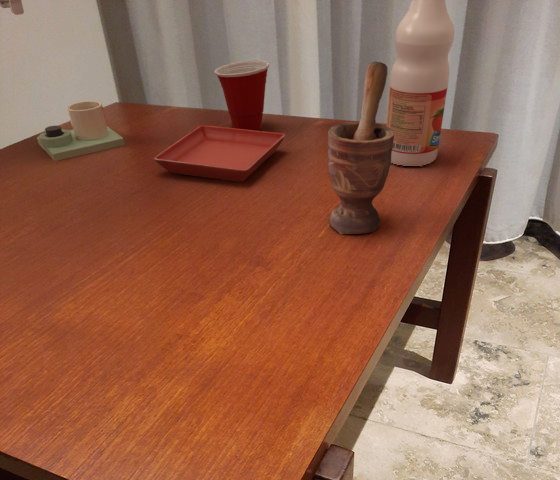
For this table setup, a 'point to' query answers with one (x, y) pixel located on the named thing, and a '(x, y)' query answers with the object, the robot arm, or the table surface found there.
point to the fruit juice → (419, 82)
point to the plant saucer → (220, 152)
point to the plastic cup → (244, 92)
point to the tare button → (53, 131)
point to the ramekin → (88, 120)
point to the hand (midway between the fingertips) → (12, 10)
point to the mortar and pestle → (360, 160)
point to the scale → (77, 144)
